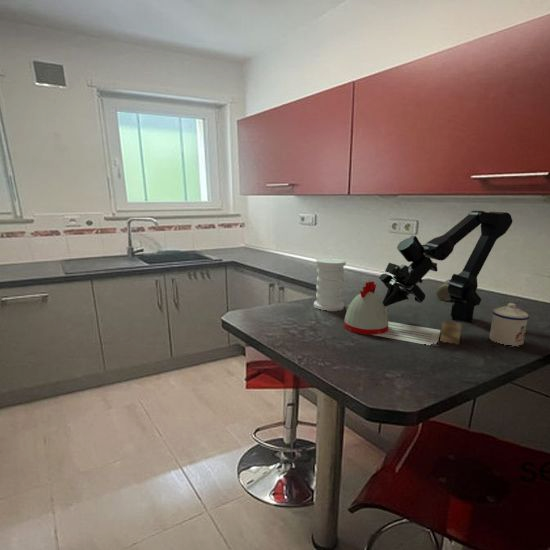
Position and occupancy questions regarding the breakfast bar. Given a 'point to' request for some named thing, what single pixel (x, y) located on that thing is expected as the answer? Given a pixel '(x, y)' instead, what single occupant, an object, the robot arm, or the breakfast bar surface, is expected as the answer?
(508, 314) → the teacup with lid
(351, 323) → the kitchen timer
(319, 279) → the decorative container
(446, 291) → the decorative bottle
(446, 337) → the block
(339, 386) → the breakfast bar surface
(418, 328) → the letter
